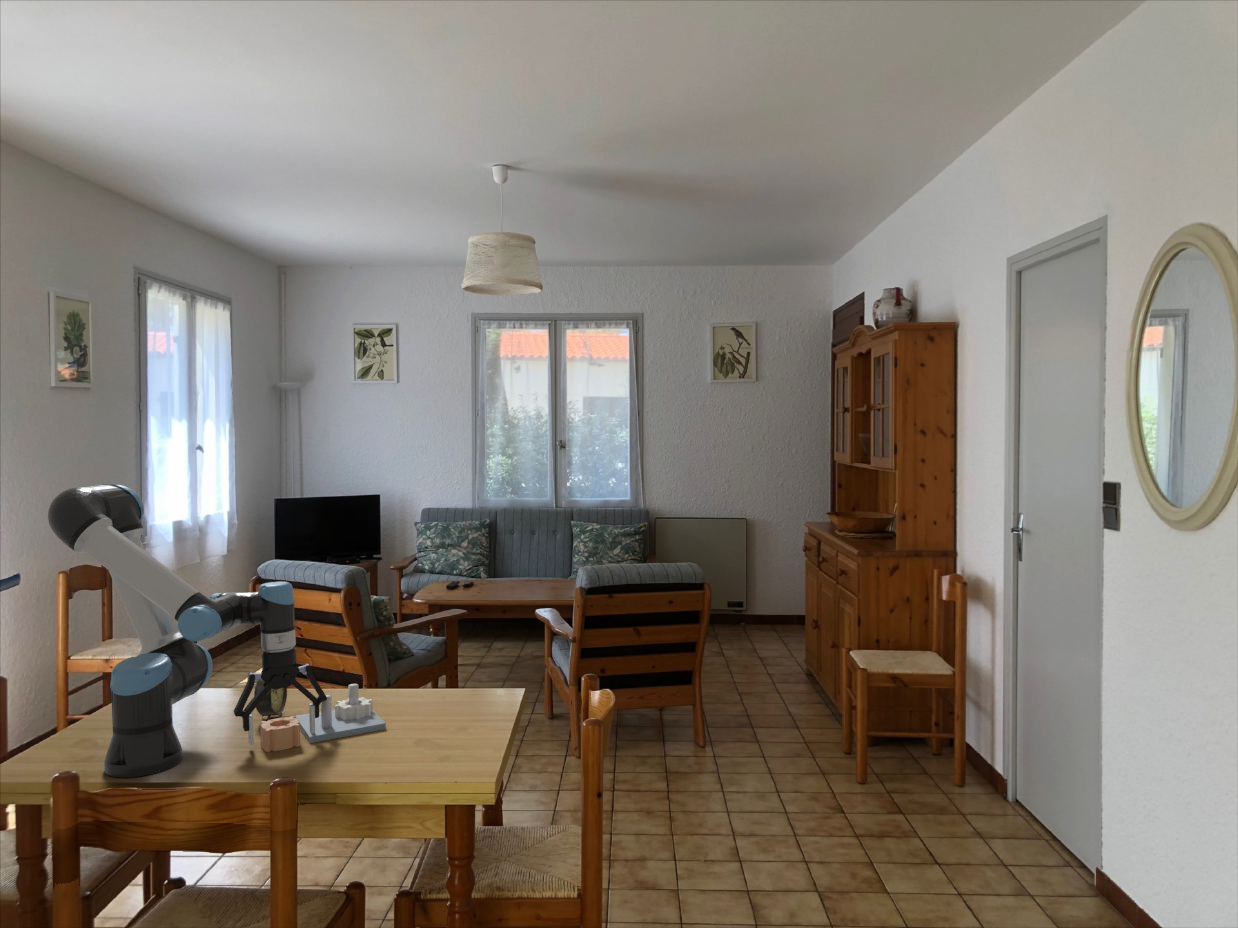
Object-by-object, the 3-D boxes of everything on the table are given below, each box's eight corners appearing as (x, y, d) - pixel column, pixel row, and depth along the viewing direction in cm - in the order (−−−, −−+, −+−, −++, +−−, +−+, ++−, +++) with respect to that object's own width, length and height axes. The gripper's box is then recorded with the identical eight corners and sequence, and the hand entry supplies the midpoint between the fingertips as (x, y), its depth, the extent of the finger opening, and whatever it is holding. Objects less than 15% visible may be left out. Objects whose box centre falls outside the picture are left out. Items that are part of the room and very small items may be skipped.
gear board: (309, 743, 202) (308, 705, 202) (295, 721, 218) (294, 686, 217) (385, 728, 211) (385, 692, 211) (366, 709, 227) (366, 675, 227)
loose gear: (265, 752, 196) (264, 731, 196) (259, 742, 203) (259, 721, 203) (301, 745, 200) (301, 724, 200) (295, 735, 207) (294, 715, 207)
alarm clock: (272, 725, 215) (270, 661, 214) (250, 725, 215) (249, 661, 214) (288, 711, 226) (287, 650, 225) (268, 711, 226) (267, 650, 225)
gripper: (222, 660, 191) (226, 753, 192) (337, 643, 204) (341, 731, 205) (218, 653, 198) (222, 744, 198) (330, 637, 211) (333, 722, 211)
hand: (282, 738), depth 202 cm, fingers open, 13 cm apart
